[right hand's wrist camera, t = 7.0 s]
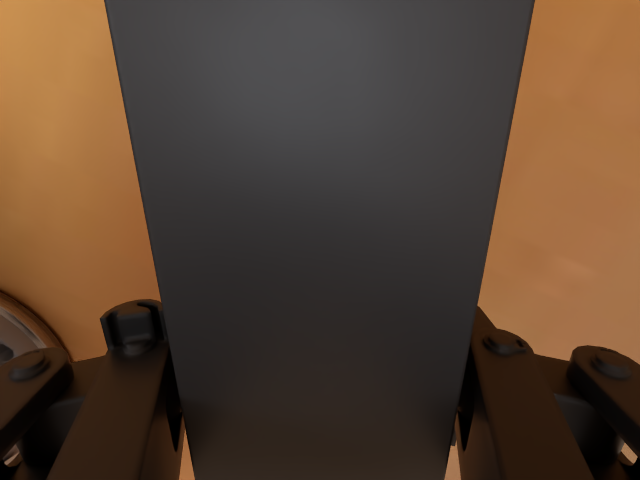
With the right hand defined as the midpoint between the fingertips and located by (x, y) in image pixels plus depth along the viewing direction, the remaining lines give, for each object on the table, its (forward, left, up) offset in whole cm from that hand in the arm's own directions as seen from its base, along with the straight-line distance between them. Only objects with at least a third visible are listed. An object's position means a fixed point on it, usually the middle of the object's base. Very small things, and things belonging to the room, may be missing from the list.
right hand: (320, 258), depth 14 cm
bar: (-2, +9, -1) cm, 9 cm away
